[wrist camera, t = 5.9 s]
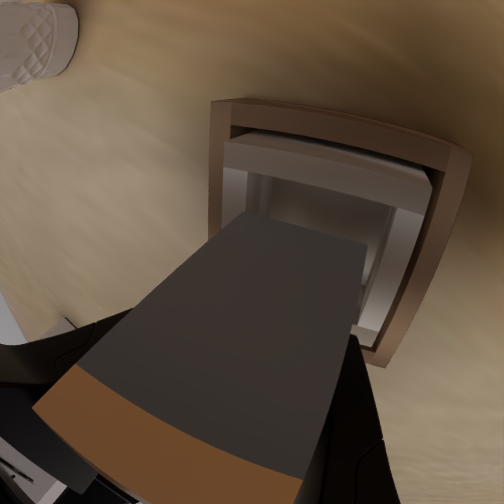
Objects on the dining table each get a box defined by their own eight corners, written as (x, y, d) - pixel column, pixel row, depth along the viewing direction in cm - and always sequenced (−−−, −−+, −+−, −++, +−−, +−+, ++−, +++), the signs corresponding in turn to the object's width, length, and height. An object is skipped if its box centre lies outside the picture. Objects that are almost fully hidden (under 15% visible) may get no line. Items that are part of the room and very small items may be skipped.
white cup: (80, -19, 13) (-30, -15, 5) (89, 58, 17) (-34, 81, 9) (35, 27, 17) (-55, 44, 9) (43, 95, 20) (-51, 125, 12)
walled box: (389, 333, 18) (380, 396, 14) (231, 284, 21) (192, 331, 17) (457, 144, 11) (489, 168, 7) (240, 98, 14) (184, 104, 10)
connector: (336, 339, 11) (248, 552, 4) (236, 306, 12) (106, 478, 5) (368, 244, 8) (268, 554, 2) (242, 211, 10) (31, 407, 3)
